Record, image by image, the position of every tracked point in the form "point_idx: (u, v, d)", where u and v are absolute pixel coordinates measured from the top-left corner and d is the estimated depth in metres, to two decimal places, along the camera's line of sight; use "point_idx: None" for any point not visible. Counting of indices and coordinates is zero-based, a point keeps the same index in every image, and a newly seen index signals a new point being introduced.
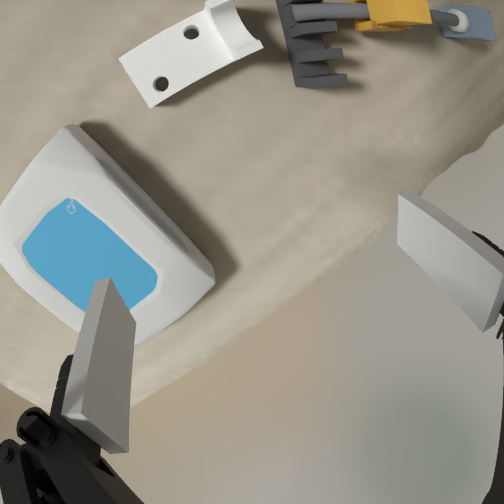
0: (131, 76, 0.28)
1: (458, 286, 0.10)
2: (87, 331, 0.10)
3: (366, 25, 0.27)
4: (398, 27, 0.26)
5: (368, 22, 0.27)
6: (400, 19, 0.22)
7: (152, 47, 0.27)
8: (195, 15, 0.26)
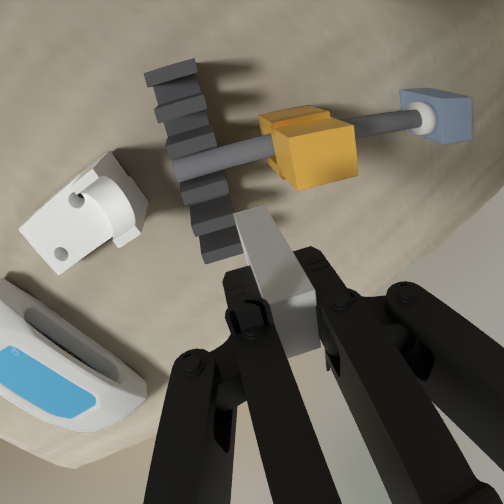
0: (34, 246, 0.28)
1: None
2: (254, 244, 0.12)
3: (274, 166, 0.28)
4: None
5: (276, 165, 0.27)
6: (303, 187, 0.22)
7: (44, 218, 0.27)
8: (76, 180, 0.26)
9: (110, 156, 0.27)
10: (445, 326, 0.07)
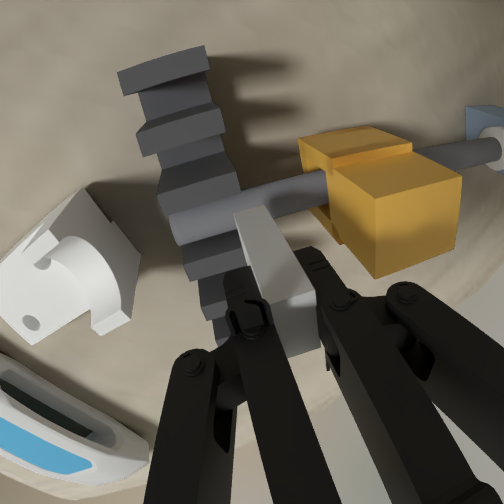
0: None
1: None
2: (254, 244, 0.12)
3: (323, 219, 0.19)
4: None
5: (327, 219, 0.18)
6: (383, 274, 0.14)
7: (3, 280, 0.18)
8: (36, 232, 0.17)
9: (81, 197, 0.18)
10: (445, 326, 0.07)
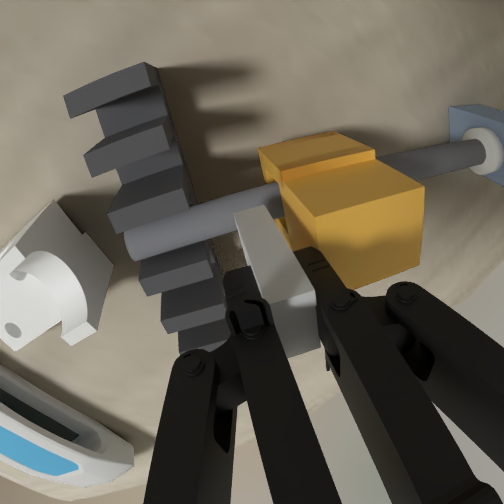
0: None
1: None
2: (254, 244, 0.12)
3: (284, 232, 0.18)
4: None
5: (285, 232, 0.18)
6: None
7: None
8: (11, 245, 0.17)
9: (52, 211, 0.18)
10: (445, 326, 0.07)
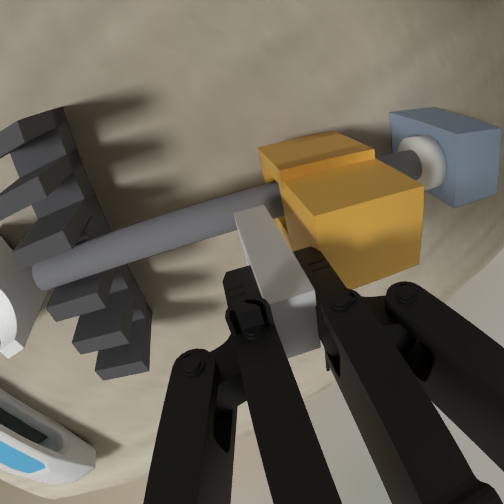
0: None
1: None
2: (254, 244, 0.12)
3: (283, 231, 0.18)
4: None
5: (285, 232, 0.18)
6: None
7: None
8: None
9: None
10: (445, 326, 0.07)
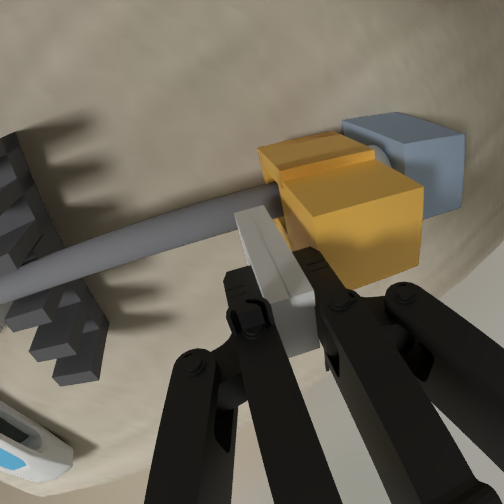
0: None
1: None
2: (255, 244, 0.12)
3: (283, 232, 0.18)
4: None
5: (285, 232, 0.18)
6: None
7: None
8: None
9: None
10: (444, 326, 0.07)
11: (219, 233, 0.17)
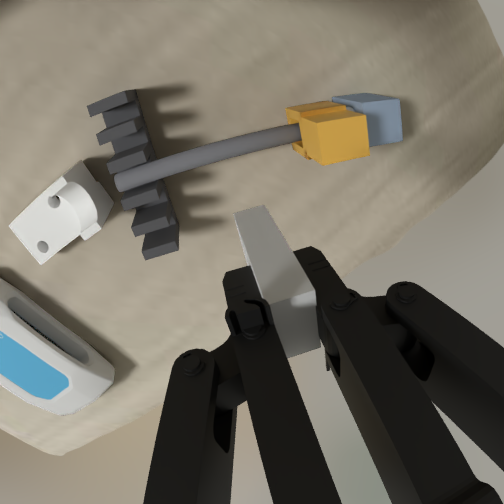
0: (21, 240, 0.33)
1: None
2: (254, 244, 0.12)
3: (300, 150, 0.33)
4: None
5: (301, 148, 0.32)
6: (327, 163, 0.27)
7: (28, 216, 0.32)
8: None
9: (80, 165, 0.32)
10: (445, 326, 0.07)
11: (268, 146, 0.31)
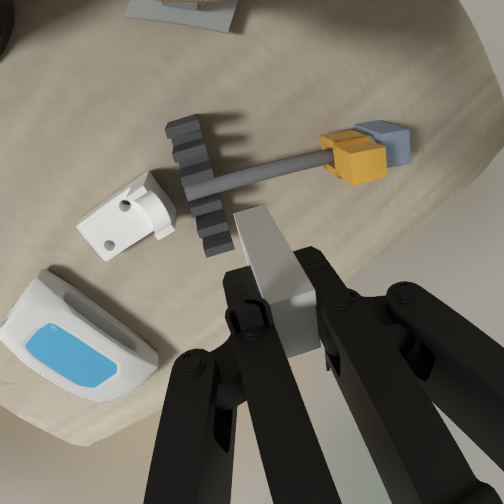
0: (88, 239, 0.42)
1: None
2: (254, 244, 0.12)
3: (332, 170, 0.41)
4: None
5: (333, 169, 0.41)
6: (356, 183, 0.36)
7: (98, 218, 0.40)
8: (125, 191, 0.39)
9: (150, 175, 0.40)
10: (445, 326, 0.07)
11: (308, 167, 0.40)
